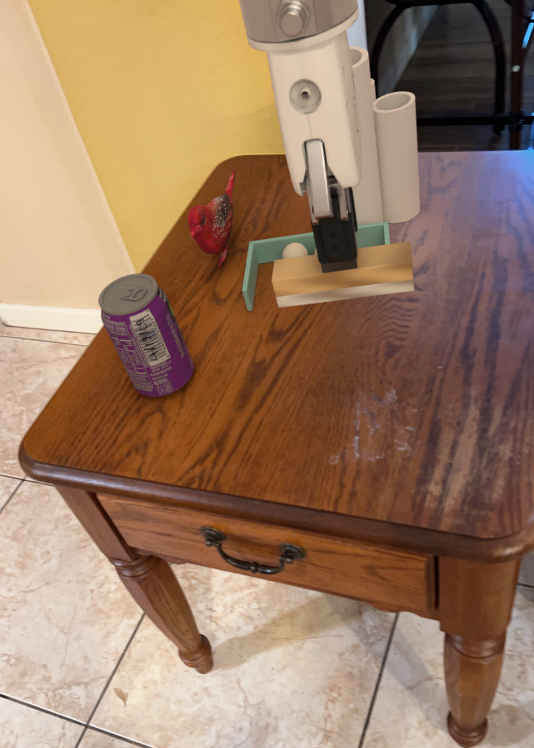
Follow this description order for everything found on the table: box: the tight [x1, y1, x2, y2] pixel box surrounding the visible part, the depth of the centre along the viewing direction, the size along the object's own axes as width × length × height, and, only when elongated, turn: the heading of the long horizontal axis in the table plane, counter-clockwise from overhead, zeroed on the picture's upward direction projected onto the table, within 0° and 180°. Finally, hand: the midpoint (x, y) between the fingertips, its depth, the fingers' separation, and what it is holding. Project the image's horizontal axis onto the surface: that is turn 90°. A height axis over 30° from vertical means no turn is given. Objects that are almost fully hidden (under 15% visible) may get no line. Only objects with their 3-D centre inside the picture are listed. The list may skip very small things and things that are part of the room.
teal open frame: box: [241, 221, 391, 312], centre depth 85 cm, size 17×16×3 cm
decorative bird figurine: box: [187, 169, 236, 270], centre depth 89 cm, size 3×18×10 cm, turn 166°
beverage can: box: [97, 273, 195, 398], centre depth 75 cm, size 7×7×12 cm
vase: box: [349, 45, 421, 226], centre depth 83 cm, size 11×7×20 cm, turn 115°
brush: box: [271, 175, 415, 309], centre depth 59 cm, size 12×3×10 cm, turn 85°
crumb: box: [282, 243, 308, 259], centre depth 86 cm, size 3×3×3 cm
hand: (338, 245), depth 59 cm, fingers closed on brush, 3 cm apart
